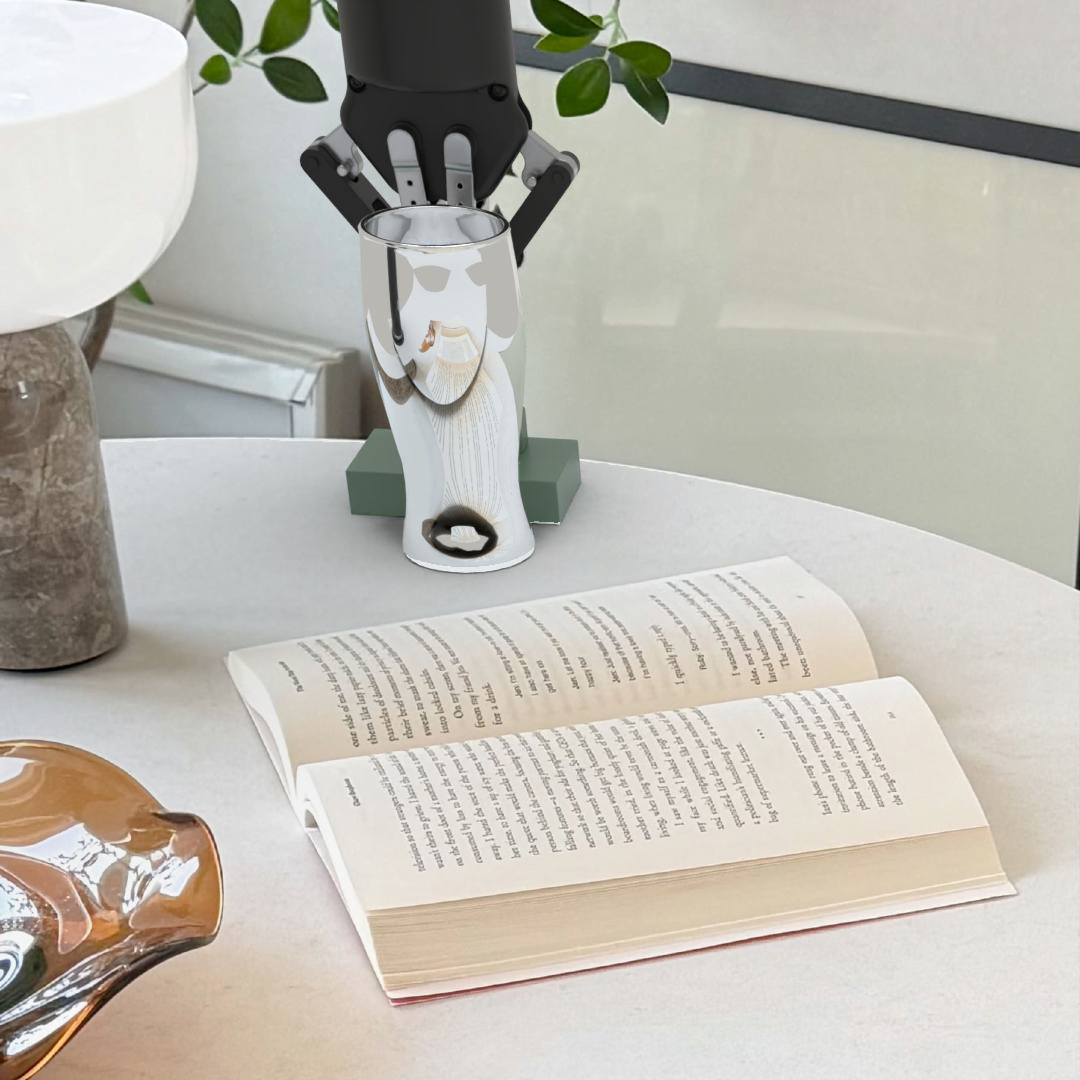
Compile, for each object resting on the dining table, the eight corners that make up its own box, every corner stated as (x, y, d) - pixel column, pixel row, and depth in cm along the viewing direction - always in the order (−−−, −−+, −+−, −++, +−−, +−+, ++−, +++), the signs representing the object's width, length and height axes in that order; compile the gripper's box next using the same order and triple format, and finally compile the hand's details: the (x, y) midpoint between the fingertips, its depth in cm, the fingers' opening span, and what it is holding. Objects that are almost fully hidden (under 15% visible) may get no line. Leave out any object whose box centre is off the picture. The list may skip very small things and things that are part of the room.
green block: (350, 514, 134) (339, 433, 132) (384, 463, 140) (374, 384, 138) (560, 526, 135) (553, 445, 133) (585, 474, 141) (578, 396, 138)
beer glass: (409, 584, 128) (368, 251, 119) (380, 530, 133) (339, 206, 124) (560, 569, 131) (531, 242, 122) (526, 516, 136) (496, 198, 127)
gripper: (245, -29, 121) (303, 370, 131) (553, -9, 121) (587, 386, 132) (290, -63, 127) (342, 321, 137) (584, -44, 127) (613, 336, 138)
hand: (462, 352), depth 134 cm, fingers closed
